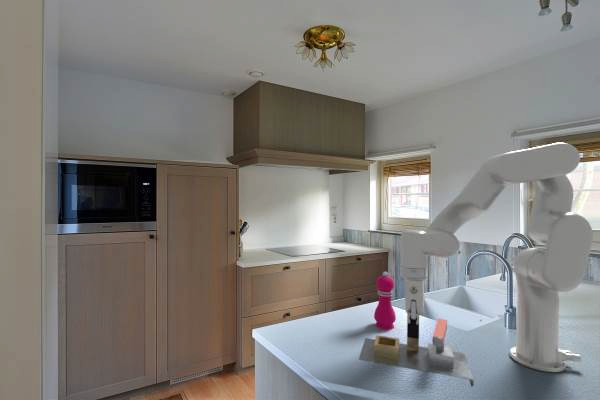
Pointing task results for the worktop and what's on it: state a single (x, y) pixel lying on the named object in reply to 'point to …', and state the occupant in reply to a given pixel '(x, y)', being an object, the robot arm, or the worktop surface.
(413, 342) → the peg
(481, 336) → the worktop surface
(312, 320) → the worktop surface
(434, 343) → the orange and grey block
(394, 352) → the holed wooden block
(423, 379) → the worktop surface
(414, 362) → the board
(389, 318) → the pepper mill
